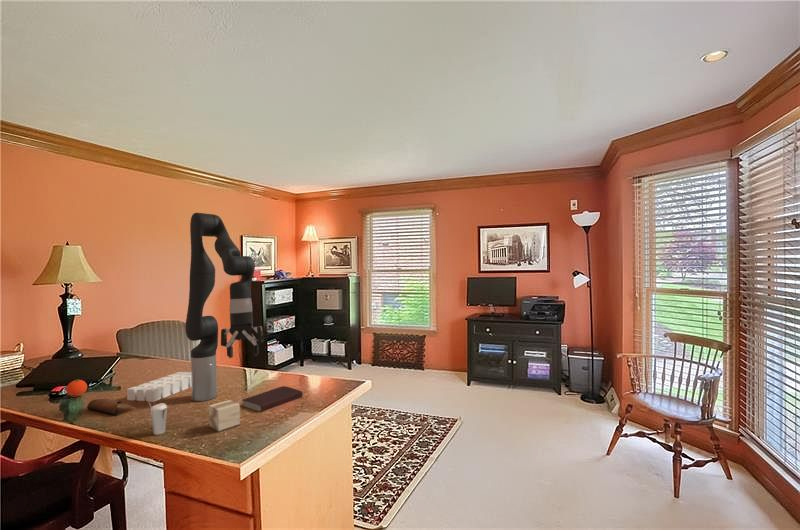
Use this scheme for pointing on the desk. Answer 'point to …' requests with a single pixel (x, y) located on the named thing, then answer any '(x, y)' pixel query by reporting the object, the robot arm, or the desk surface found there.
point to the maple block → (224, 415)
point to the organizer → (160, 387)
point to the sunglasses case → (110, 406)
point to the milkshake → (158, 418)
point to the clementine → (76, 388)
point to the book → (272, 398)
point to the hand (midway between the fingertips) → (243, 356)
